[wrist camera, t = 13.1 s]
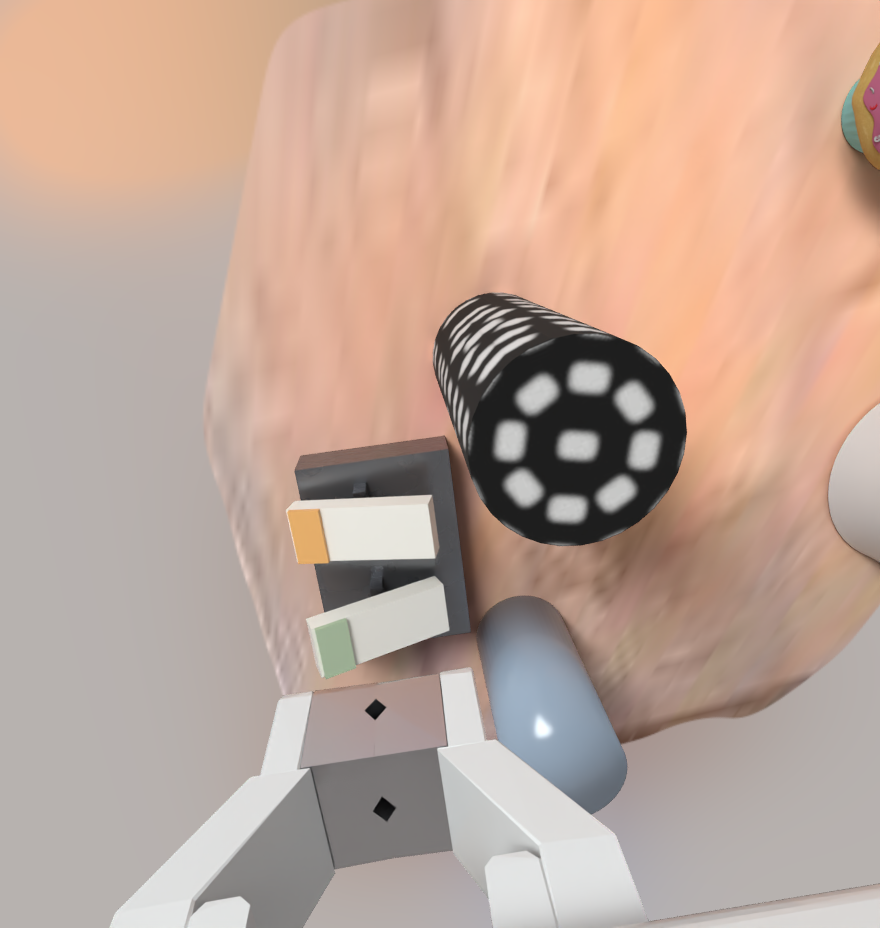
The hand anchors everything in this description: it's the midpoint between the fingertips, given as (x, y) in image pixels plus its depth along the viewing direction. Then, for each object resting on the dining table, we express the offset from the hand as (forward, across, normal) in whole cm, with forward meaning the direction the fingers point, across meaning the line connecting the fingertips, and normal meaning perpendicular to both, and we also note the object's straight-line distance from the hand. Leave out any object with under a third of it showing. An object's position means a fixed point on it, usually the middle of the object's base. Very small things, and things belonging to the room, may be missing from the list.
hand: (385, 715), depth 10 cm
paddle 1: (+28, -3, -10) cm, 30 cm away
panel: (+34, -2, -13) cm, 37 cm away
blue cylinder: (+34, +7, -23) cm, 42 cm away
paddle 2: (+28, -3, -16) cm, 33 cm away
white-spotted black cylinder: (+34, +7, -1) cm, 35 cm away
